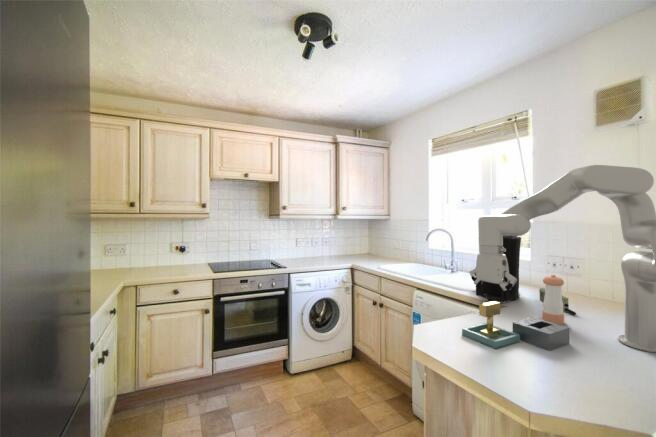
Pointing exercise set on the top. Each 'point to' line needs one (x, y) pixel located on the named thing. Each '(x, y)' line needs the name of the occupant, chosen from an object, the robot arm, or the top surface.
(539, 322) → the block
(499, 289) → the black backpack
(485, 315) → the t key
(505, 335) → the tray
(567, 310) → the handheld radio
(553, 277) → the pepper shaker
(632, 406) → the top surface
